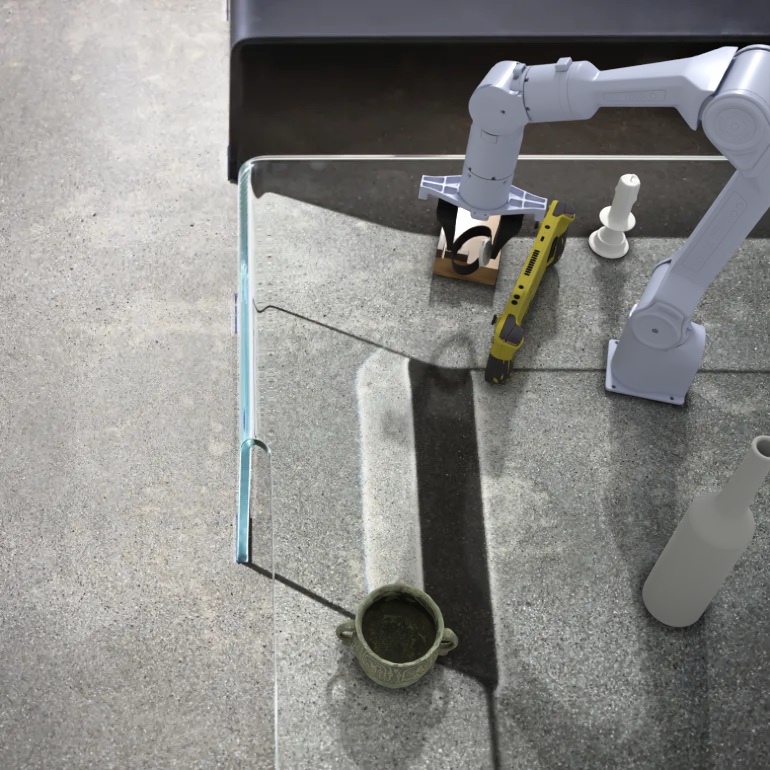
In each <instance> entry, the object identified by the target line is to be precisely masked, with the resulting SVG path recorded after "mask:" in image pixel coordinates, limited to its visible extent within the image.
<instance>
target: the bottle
mask: <svg viewBox="0 0 770 770" xmlns="http://www.w3.org/2000/svg"><path fill="white" fill-rule="evenodd" d="M769 472H770V436H769V435H764V434H761V435H758V436H756V437H754V438H753V440H751V443H750V447H749V449H748V451H747V452H746V454H745V455H744V457H743V459H742V460H741V462H740V464H739V465H738V467H737V468H736V470H735V471H734V473H733V475H732V476H731V478H730V479H729V480H728V482H727V483H726V485H725V486H724V487H723V488H722V490H714V491H713V490H712V491H708V492H703V493H702V494H700V495H698V496H697V497H695V498H694V499H693V501H692V502H691V503H690V505H689V507H688V508H687V509H686V511H685V513H684V514H683V516H682V518H681V520H680V522H679V523H678V525H677V527H676V528H675V530H674V532H673V533H672V535H671V537H670V538H669V540H668V542H667V543H666V545H665V547H664V548H663V550H662V552H661V553H660V555H659V557H658V559H657V560H656V562H655V564H654V565H653V567H652V569H651V571H650V573H649V574H648V576H647V578H646V579H645V581H644V583H643V586H642V590H641V591H642V593H641V594H642V600H643V604H644V606H645V608H646V610H647V611H648V612H649V613H650V615H651V616H653V617H654V619H655V620H657V621H658V622H661V623H662V624H664V625H667V626H668V627H669V626H670V627H675V628H685V627H688V626H691V625H693V624H695V623H696V622H698V621H699V619H700V618H702V617H701V616H702V615H703V613H704V612H705V611H706V609H708V607H709V605H710V604H711V602H712V601H713V599H714V598H715V596H716V594H718V592H719V591H720V589H721V587H722V585H723V584H724V582H725V581H726V579H728V577H729V575H730V573H731V572H732V570H733V569H734V567H735V565H736V564H737V562H739V560H740V558H741V556H742V555H743V554H744V552H745V551H746V549H747V548H748V546H749V545H750V543H751V542H752V540H753V538H754V535H755V532H756V523H755V517H754V515H753V511H752V510H751V509H750V506H751V504H752V502H753V500H754V498H755V496H756V494H757V492H758V490H759V489H760V487H761V485H762V484H763V482H764V481H765V480H766V478H767V476H768V474H769Z"/></svg>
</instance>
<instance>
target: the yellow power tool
mask: <svg viewBox="0 0 770 770" xmlns="http://www.w3.org/2000/svg"><path fill="white" fill-rule="evenodd" d="M576 211H577V209H576V208H575V207H574V206H573V205H571V204H570V203H567V202H565V201H561V200H556V199H555V200H554V199H553V200H552V202H551V204H549V205H548V207H547V210H546V212H545V215H544V219H543V222H539V221H535V224H534V227H533V229H534V230H537V236H536V238H535V240H534V242H533V244H532V247H531V249H530V251H529V253H528V256H527V258H526V260H525V263H524V264H523V267H522V270H521V272H520V274H519V276H518V278H517V281H516V283H515V285H514V288H513V289H512V292H511V294H510V296H509V298H508V301H507V303H506V305H505V308H504V310H503V312H502V313H500V314H499V315H498V314H494V315H493V317H492V319H491V322H490V325H491V326H494V329H493V334H494V335H493V336H492V337H491V338H490V343H491V347H490V350H489V353H488V358H487V362H486V365H485V370H484V373H483V377H484V378H483V380H484V381H485V383H488V384H490V385H493V386H501V385H502V386H503V385H505V384H507V383H508V382H509V381H510V380H511V379H512V376H513V373H514V365H515V353H516V352H517V351H518V350H519V349H520V348H521V347H522V345H523V343H524V336H525V332H524V330H523V328H522V325H523V322H524V320H525V318H526V316H527V314H528V311H529V308H530V306H531V304H532V302H533V300H534V297H535V296H536V295H535V294H536V292H537V290H538V287H539V285H540V282H541V281H542V278H543V276H544V274H545V272H546V271H548V270H549V269H551V268H553V267H554V266H555V265H557V264H558V262H559V261H560V259H561V258H562V256H563V254H564V251H565V248H566V245H567V239H568V231H569V224H571V223H573V222H574V220H575V219H576Z"/></svg>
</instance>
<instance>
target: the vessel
mask: <svg viewBox="0 0 770 770" xmlns="http://www.w3.org/2000/svg"><path fill="white" fill-rule="evenodd" d="M334 632H335V636H336V637H337V639H338V640H339V641H341V645H343V646H344V647H352V649H353V652H354V655H355V657H356V659H357V660H358V663H359V666H360V667H361V668H362V670H363V672H364V673H365V675H366V676H367V677H368V678H369V679H370V680H372V681H373V682H375V683H376V684H377V685H379V686H382V687H385V688H389V689H399V688H400V689H401V688H407V687H408V686H410V685H412V684H414V683H417V682H418V681H419V680H420V679H421V678H422V677H423V676H424V675H425V674H426V673H427V672H428V671H429V670H430V669H431V668H432V666H433V665H434V664H435V663H436V661H437V658H438V656H447V655H448V654H449V652H450V651H452V650H455V648H457V646H458V644H459V638H458V636H457V635H456V633H454V631H453V630H452V629H451V628H448V627H445V622H444V618H443V614H442V612H441V609H440V607H439V606H438V605H437V603H436V602H435V600H433V598H432V597H431V596H430V595H429V594H427V593H426V592H425V591H424V590H423V589H420V588H419V587H416V586H413V585H411V584H407V583H403V582H402V583H401V582H394V583H390V584H383V585H382V586H379V587H377V588H375V589H373V590H372V591H371V592H369V594H367V596H366V597H365V598H363V600H361V602H360V604H359V606H358V607H357V610H356V613H355V618H354V619H346V620H345V621H344V622H342V623H340V624H339V625H337V626H336V628H335V631H334ZM345 632H349V633H345ZM351 633H352V634H351ZM443 641H446V643H445V642H443ZM447 641H448V642H447ZM442 642H443V643H442Z"/></svg>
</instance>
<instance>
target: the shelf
mask: <svg viewBox="0 0 770 770" xmlns="http://www.w3.org/2000/svg"><path fill="white" fill-rule="evenodd" d="M500 216H501V215H494V216H489V219H488V220H487V221H480V220H475V219H472V218H471V217H470V212H469V211H467V210H465V209H463V208H460V207H459V209H458V214H457V222H456V233H455V238H454V242H455V241H456V238H458V237H459V236H460V235H461V234H462V233H463V232H465V231H466V230H468V229H469V228H471V227H474V226H480V225H484V226H488V227H489V228H490V229H491V231H492V244H493V240H494V237H495V234H496V231H497V228H498V225H499V221H500ZM485 239H489V238H488V237H485V236H478V237H474V238H471V239H469V240H468V241H466V242H465V243H464V244H463V245H462V248H461V249H460V250H459V251H458V252H457V254H456V256H455V258H454V260H453V261H454V262H455V263H456V264H458V265H469V264H471V263H473V262H474V261H475V260H476V259H477V258H478V256H479V251H480V247H481V245H482V240H485ZM502 250H503V248H502V249H501V250H500V252H499V253H498V255H497V257H496V259H495V260H494V259H490V261H489V263H488V265H487V266H480V268H478V269H477V270H476V271H475V272H474V273H472V274H469V275H460V274H457V273H456V272H455V271H454V270H453V268H452V262H451V251H447V250H446V238H445V234H444V230H443V228H442V227H441V229H440V233H439V238H438V242H437V246H436V252H435V258H434V263H433V268H432V269H433V270H432V274H433V275H438V276H443V277H448V278H454V279H458V280H463V281H468V282H473V283H478V284H484V285H488V286H495V285H496V280H497V276H498V272H499V267H500V263H501V256H502Z"/></svg>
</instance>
